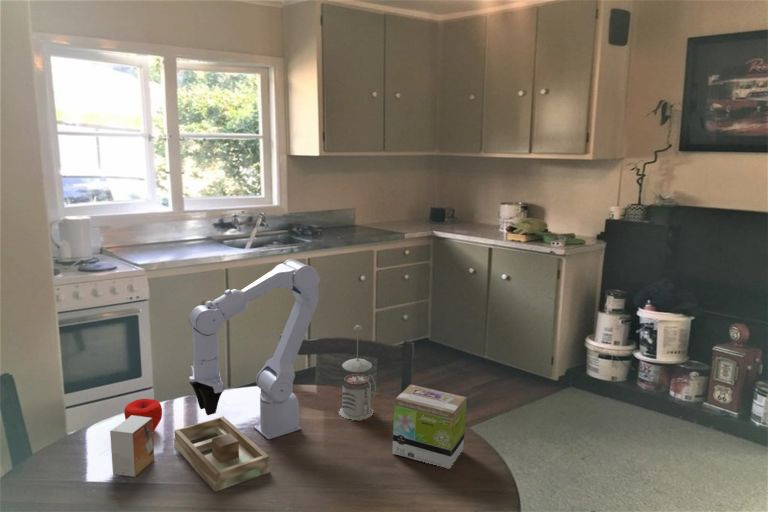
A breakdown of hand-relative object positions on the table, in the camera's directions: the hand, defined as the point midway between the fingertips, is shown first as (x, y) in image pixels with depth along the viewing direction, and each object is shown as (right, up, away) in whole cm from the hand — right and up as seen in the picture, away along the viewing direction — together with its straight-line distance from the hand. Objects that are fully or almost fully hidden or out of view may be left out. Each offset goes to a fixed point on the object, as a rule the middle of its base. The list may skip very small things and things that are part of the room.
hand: (207, 410), depth 145 cm
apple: (-18, -8, +8) cm, 22 cm away
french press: (+35, -6, +22) cm, 42 cm away
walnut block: (+6, -9, -6) cm, 12 cm away
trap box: (+4, -10, -3) cm, 11 cm away
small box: (-14, -11, -7) cm, 20 cm away
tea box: (+53, -11, +2) cm, 54 cm away
